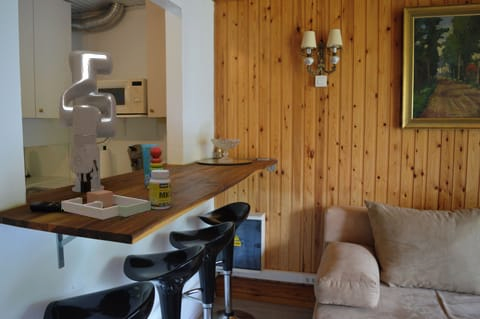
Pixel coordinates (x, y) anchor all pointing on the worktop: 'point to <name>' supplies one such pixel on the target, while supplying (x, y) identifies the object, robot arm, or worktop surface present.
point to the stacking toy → (155, 161)
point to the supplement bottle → (160, 189)
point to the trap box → (97, 211)
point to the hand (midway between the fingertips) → (85, 192)
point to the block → (100, 197)
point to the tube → (147, 160)
